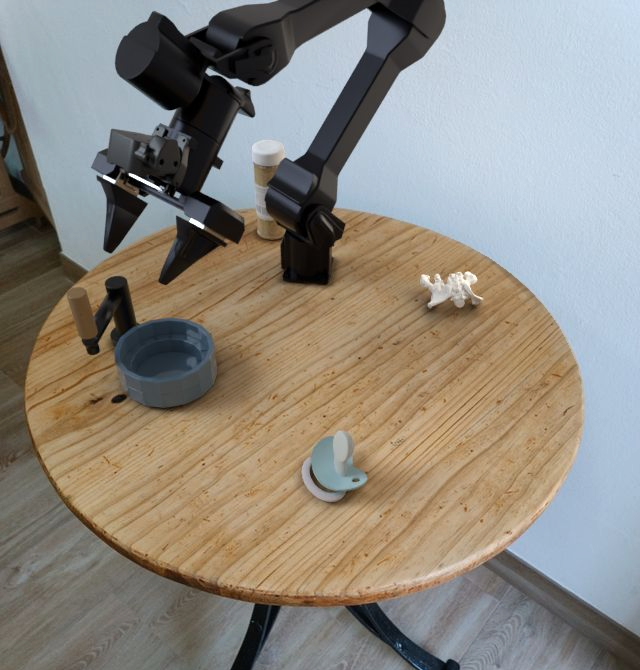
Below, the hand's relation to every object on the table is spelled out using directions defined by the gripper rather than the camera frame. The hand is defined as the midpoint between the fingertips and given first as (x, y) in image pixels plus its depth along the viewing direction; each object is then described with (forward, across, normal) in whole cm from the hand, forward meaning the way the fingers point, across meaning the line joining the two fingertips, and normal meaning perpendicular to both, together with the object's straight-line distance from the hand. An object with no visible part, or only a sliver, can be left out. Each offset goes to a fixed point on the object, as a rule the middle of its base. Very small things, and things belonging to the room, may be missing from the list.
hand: (133, 267), depth 75 cm
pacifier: (+10, +29, +9) cm, 31 cm away
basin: (+10, +4, +8) cm, 14 cm away
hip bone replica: (-15, +21, +33) cm, 42 cm away
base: (+9, -5, +9) cm, 14 cm away
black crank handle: (+11, -2, +6) cm, 13 cm away
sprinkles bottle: (-12, -8, +31) cm, 34 cm away
